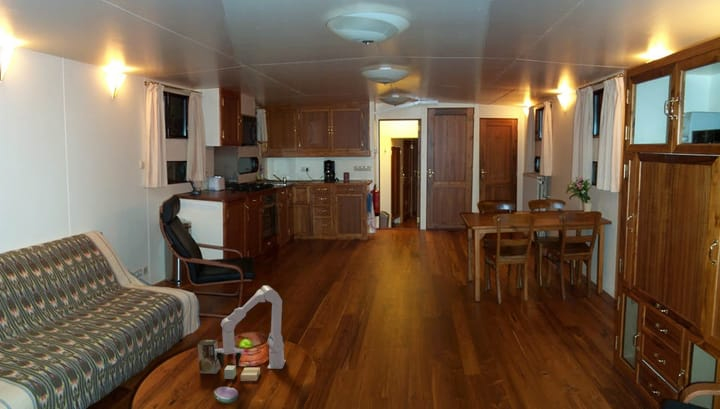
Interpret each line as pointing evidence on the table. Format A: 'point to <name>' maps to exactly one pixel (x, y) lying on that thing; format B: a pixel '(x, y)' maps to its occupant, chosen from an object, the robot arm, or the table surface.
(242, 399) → the table surface
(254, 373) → the birch block
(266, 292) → the robot arm
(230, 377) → the pale grey cube
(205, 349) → the coffee box
